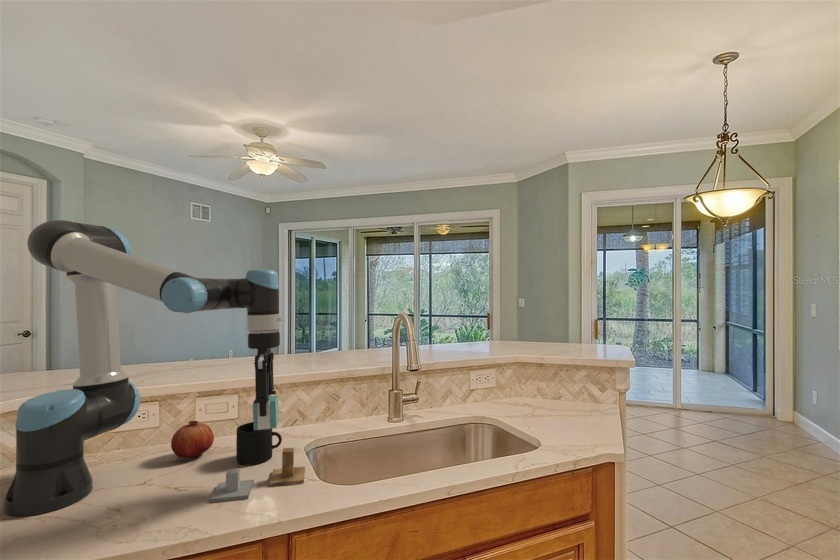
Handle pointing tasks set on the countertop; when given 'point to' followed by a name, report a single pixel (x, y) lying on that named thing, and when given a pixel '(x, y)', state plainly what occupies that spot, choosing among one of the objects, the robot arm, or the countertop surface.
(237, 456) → the mug
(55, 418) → the robot arm
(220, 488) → the grey post
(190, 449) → the fruit
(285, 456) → the brown base with post
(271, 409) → the teal rectangular block
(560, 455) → the countertop surface
